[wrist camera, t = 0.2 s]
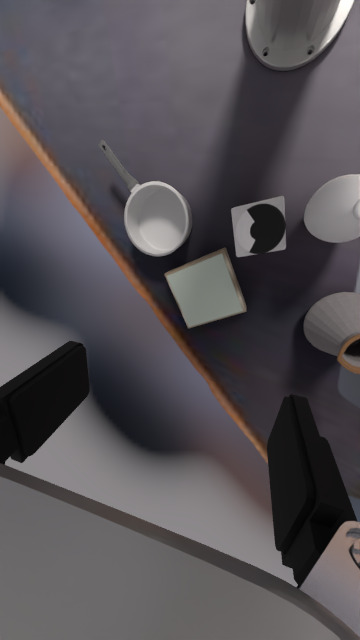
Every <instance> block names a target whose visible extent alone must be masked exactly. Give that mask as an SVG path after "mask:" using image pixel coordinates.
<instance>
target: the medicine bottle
mask: <svg viewBox="0 0 360 640" xmlns="http://www.w3.org/2000/svg"><path fill="white" fill-rule="evenodd" d="M231 214H232V223H233V232H234V241H235V250H236V256H237V257H243V256H249V255H255V254H263V253H267V252H273V251H279V250H284V249H285V248H286V230H285V227H286V224H285V202H284V197H283V196H280V197H275V198H271V199H267V200H263V201H259V202H254V203H250V204H246V205H242V206H237V207H233V208H232V209H231Z"/></svg>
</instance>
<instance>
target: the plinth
mask: <svg viewBox="0 0 360 640" xmlns="http://www.w3.org/2000/svg"><path fill="white" fill-rule="evenodd" d="M164 275H165V277H166V279H167V281H168V284H169V286H170V288H171V290H172V293H173V295H174V297H175V299H176V302H177V304H178V306H179V308H180V311H181V313H182V315H183V318H184V320H185V322H186V324H187V327H188V329H189V328H192V327H195V326H199V325H202V324H205V323H209V322H212V321H216V320H219V319H222V318H226V317H229V316H233V315H236V314H239V313H243V312H246V303H245V300H244V297H243V295H242V292H241V289H240V286H239V283H238V281H237V278H236V275H235V272H234V269H233V266H232V264H231V261H230V258H229V255H228V252H227V250H226V247H225V248H222V249H220V250H218V251H215V252H213V253H211V254H208V255H206V256H203V257H201V258H199V259H196V260H194V261H192V262H189V263H187V264H184V265H182V266H180V267H177V268H175V269H173V270H170V271H168V272H167V273H165V274H164Z"/></svg>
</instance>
